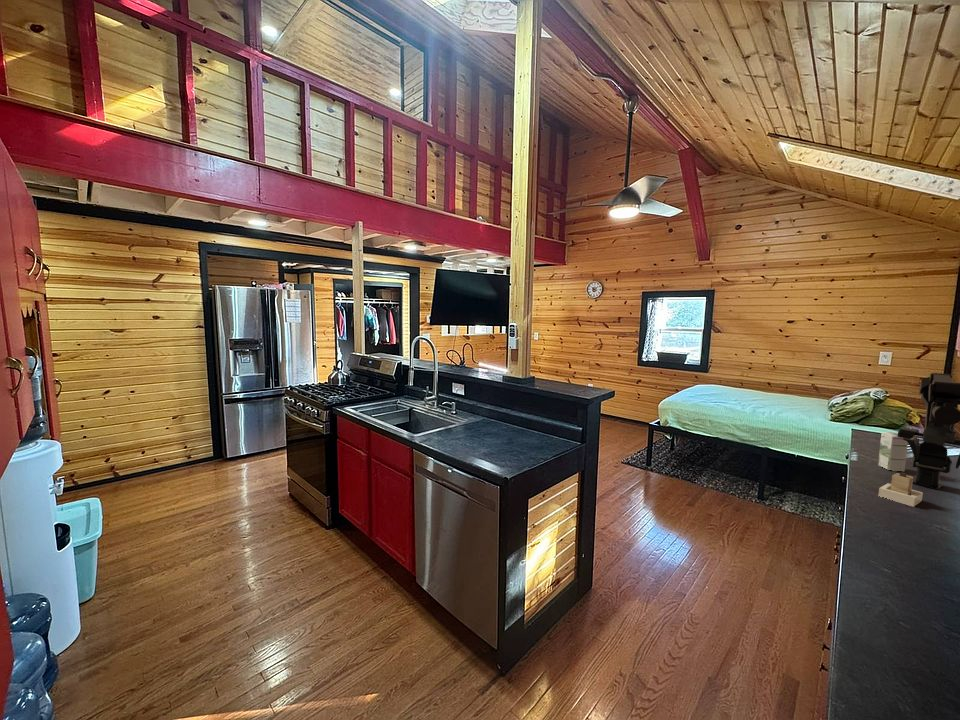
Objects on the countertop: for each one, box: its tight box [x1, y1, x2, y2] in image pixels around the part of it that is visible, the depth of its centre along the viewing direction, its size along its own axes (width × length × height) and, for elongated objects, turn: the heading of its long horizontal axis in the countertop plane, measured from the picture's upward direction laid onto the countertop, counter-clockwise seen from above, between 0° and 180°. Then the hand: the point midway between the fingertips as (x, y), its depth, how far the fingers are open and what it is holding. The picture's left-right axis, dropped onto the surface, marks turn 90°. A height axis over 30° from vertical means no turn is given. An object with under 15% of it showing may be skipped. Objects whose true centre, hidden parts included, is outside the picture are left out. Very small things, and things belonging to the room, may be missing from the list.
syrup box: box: [877, 431, 909, 473], centre depth 159 cm, size 6×6×14 cm
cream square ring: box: [877, 482, 924, 508], centre depth 133 cm, size 8×8×3 cm
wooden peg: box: [890, 472, 914, 496], centre depth 133 cm, size 4×4×9 cm
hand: (935, 463), depth 133 cm, fingers open, 9 cm apart
